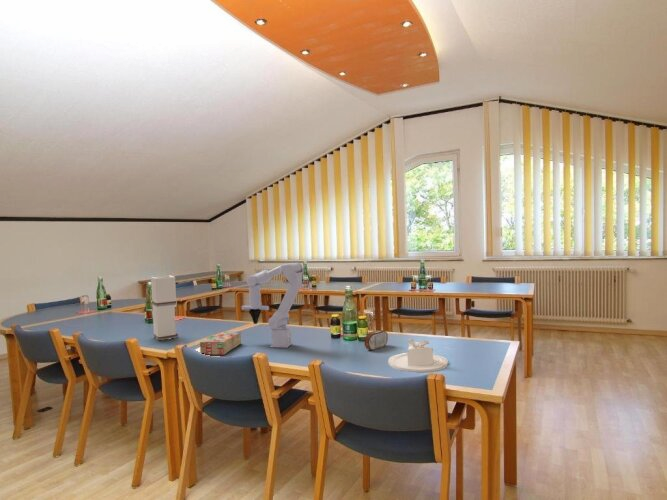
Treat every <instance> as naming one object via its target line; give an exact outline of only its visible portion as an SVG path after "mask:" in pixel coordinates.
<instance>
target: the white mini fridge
mask: <svg viewBox="0 0 667 500" xmlns="http://www.w3.org/2000/svg"><path fill="white" fill-rule="evenodd" d="M150 281H151V282H150V284H151V287H150V288H151V302H152V305H151V306H152V324H153V325H152V327H153V337H155V338H156V339H155V338H154V339H155V340H157V339H158V340H162V341H164V340H163V339H168V340H170V339H169V338H174V339H178V338H179V334H178V333H176V332H177V330H176V311H175V309H176V308H177V294H176V293H177V291H176V276H173V275H168V276H166V277H154V276H150ZM177 337H178V338H177ZM158 340H157V341H158Z"/></svg>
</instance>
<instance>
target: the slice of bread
mask: <svg viewBox="0 0 667 500" xmlns="http://www.w3.org/2000/svg"><path fill="white" fill-rule="evenodd" d="M388 339H389V337H388V333H387V331H385V330H383V329H377V330H375V331H371V332H368V333H367V335H366V336H365V339H364V348H365V349H367V350H368V351H375V350H378V349H382V348H384V347H385V346H386V345H387V343H388Z"/></svg>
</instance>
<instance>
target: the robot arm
mask: <svg viewBox="0 0 667 500" xmlns="http://www.w3.org/2000/svg"><path fill="white" fill-rule="evenodd" d="M304 272H305V271H304V268H303V266H302V264H301V263H300V262H292V263H284V264H281V265H279V266H277V267H275V268H273V269H271V270H269V269H261V271H260V272H255V273H254V274H251V275H250V274H249V276H248V277H246V284H247V286H248V293H249V294H248V298H249V300H248V301H249V305H241V310H242V311H243V310H249V311H248V313H249V314H250V316H251V318H252V321H253V324H254V325H257V324H258V322H259V318H260V315H261V313H262V311H268V310H270V306H269V305H261V302H262V301H261V287H262V284H263V283H266V282H269V281H271V279H272V277H275V276H278V275H280V274H281V275H283V276H284V278H285V279H286V280H287V281H288V282H289V285H288V287H287V289H286V291H285V294H284V296H283V297H282V300H281V303H280V304H279V307H277V308H278V309H277V310H276V311H275V312H273V314H272V316H271V317H269V319H268V326H269V328H270V330H271V342H272V343H271V345H270V346H269V348H288V347H290V346H291V345H292V344H293V343H292V330H291V329H290V328H287V326H288V323H289V319H290V313H289V311H290V310H291V308H292V306H293V304H294V302H295V300H296V297H297V295H298V293H299V291H300V289H301V287H302V284H303V273H304Z"/></svg>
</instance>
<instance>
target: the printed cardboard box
mask: <svg viewBox="0 0 667 500" xmlns="http://www.w3.org/2000/svg"><path fill="white" fill-rule="evenodd" d="M241 344H242V332H241V331H224V332H221V333H219V334H218V335H211V336H209V337H206V338H204V339H202V340H201V341H199V347H200V353H204V354H203V355H211V356H212V355H218V356H221V355H223V356H225V355H226V354H227V353H228V352H230V351H231V350H234V349H235V348H236V347H238V346H239V345H241Z"/></svg>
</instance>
